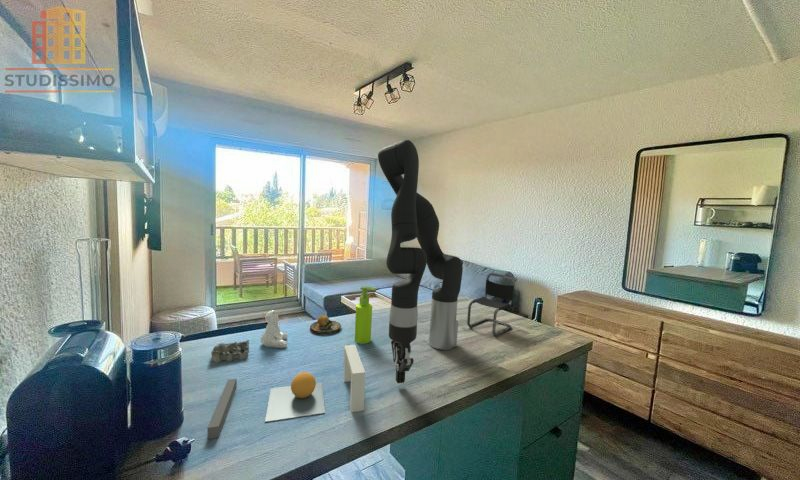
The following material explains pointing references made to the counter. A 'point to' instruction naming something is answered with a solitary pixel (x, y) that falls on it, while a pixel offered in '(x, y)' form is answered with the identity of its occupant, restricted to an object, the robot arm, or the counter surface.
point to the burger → (325, 326)
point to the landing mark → (293, 404)
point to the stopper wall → (222, 409)
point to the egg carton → (223, 350)
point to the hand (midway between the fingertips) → (400, 381)
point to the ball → (303, 385)
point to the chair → (498, 292)
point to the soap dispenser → (363, 318)
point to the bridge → (354, 377)
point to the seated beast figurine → (273, 332)
